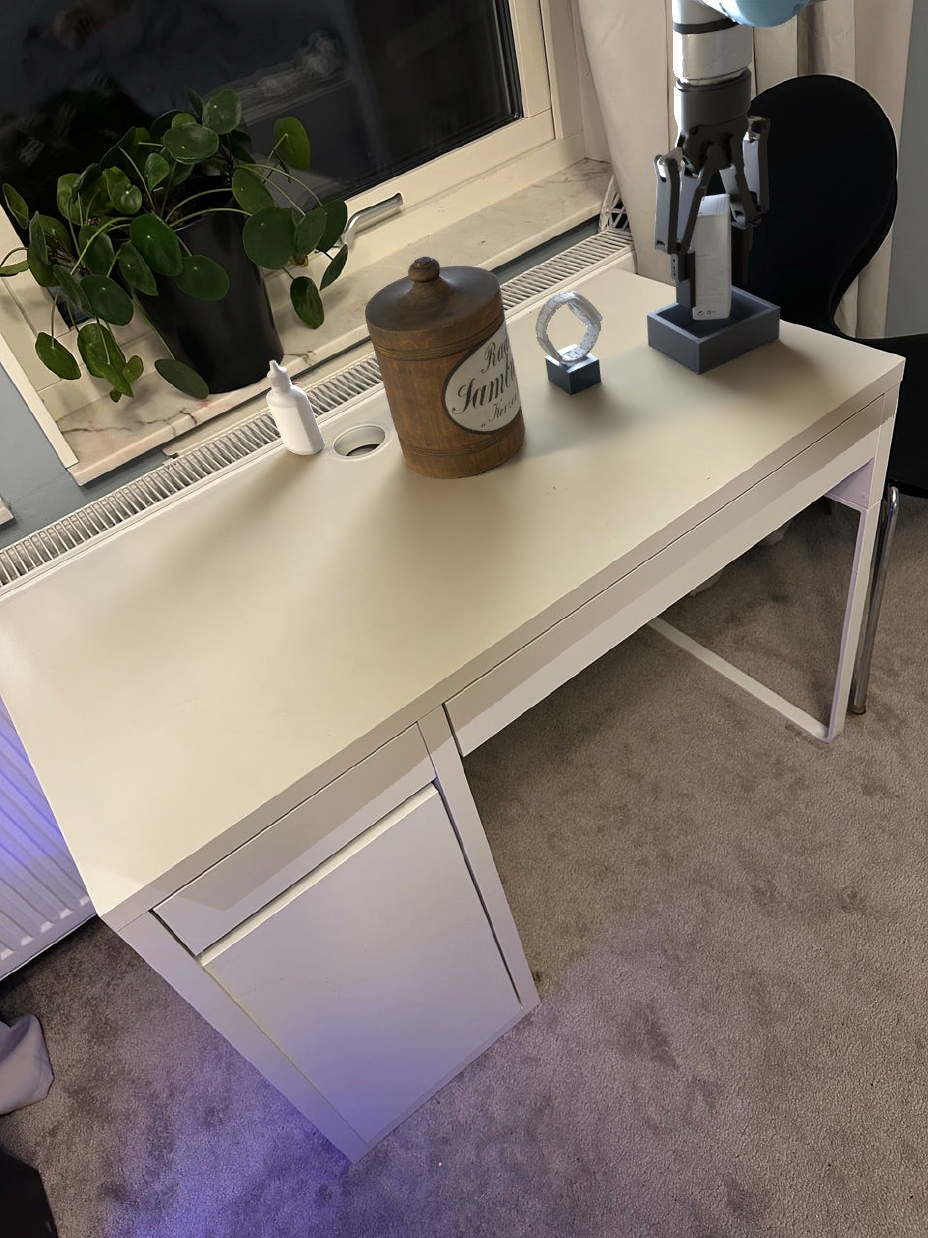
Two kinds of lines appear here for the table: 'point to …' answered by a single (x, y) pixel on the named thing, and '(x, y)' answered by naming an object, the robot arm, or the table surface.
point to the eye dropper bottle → (293, 413)
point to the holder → (713, 332)
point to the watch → (575, 362)
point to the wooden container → (447, 368)
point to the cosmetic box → (713, 258)
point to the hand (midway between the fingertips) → (711, 291)
